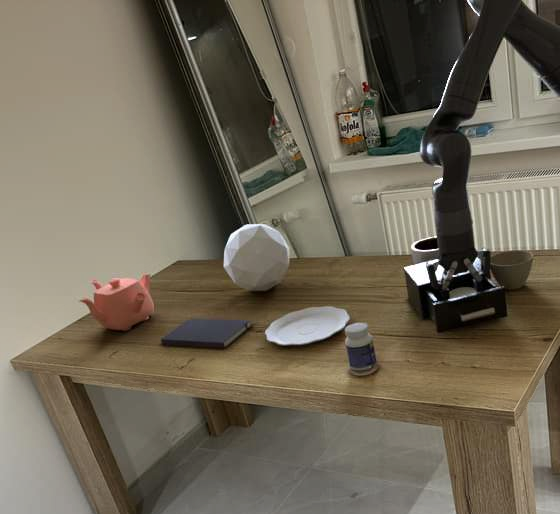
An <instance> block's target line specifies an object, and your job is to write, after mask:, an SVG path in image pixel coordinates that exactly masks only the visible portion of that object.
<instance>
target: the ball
mask: <svg viewBox="0 0 560 514" xmlns="http://www.w3.org/2000/svg"><path fill="white" fill-rule="evenodd" d="M289 267H290V247H289V245H288V244H287V242H286V241H285V239H284V238H283V236H282V234H281V232H280V231H278V230H277V229H275V228H274V227H272V226H269V225H268V224H263V223H262V224H260V223H259V224H257V223H256V224H255V223H253V224H251V223H249V224H247V223H246V224H245V225H243V226H242V227H240V228H239V229H238V228H237V230H235V231H234V232H232V233H231V234H230V236H229V237H228V240H227V243H226V244H225V247H224V253H223V269H224V270H225V271H226V273H227V274H228V276H229V277H230V278H231V280H232V282H233V284H236V285H237V286H238V287H240V288H242V289H244V290H245V291H247V292H267V291H269V290H270V289H272V288H273V287H275V286H276V285H278V284H280V283H282V281H283V280H284V277H285V275H286V273H287V271H288V269H289Z"/></svg>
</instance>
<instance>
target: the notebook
mask: <svg viewBox="0 0 560 514" xmlns="http://www.w3.org/2000/svg"><path fill="white" fill-rule="evenodd" d="M250 322H251V321H250V320H249V319H227V318H223V319H221V318H193V317H191V318H188V319H186V320H185V321H183V322H182V323H180V325H178V326H177V327H176V328H174V329H173V330H171V331H170V332H169V333H167V334H166V335H164V336H163V337H161V338H160V341H161V345H166V346H167V345H168V346H184V347H201V348H202V347H203V348H216V349H218V348H219V349H226V348H227V347H228V346H229V345H230V344H232V343H233V342H234V341H236V340H237V339H238V338H239V337H240V336H241V335H242V334H244V333H245V332H246V331H247V330H248V329H250V328H251V327H252V324H251V323H250Z"/></svg>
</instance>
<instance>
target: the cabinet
mask: <svg viewBox="0 0 560 514" xmlns="http://www.w3.org/2000/svg"><path fill="white" fill-rule="evenodd" d="M437 260H438V259H437ZM434 261H436V260H433V261H429V262H430V263H431V262H434ZM425 264H426V262H425V263H420V264H416V265H409V266H408V265H407V266H405V267H403V272H404V278H405V285H406V291H407V298H408V301H409V302H410V304H411V305H412V307H413V308H414V309H415V311H416V312H417V314H418V315H419V316H420V318H421V319H422V320H423V321H424V320H428V319H431V317H430V316H429V315H428V313H427V312H426V310H425V303H424V296H423V289H422V288H424V287H428V286H431V283H430V280H429V276H428V272H427V269H426V265H425ZM473 266H474V267H475V269H476V270H477V271H478V273H479V272H480V271H481V259H480V258H479V256H477V258H476V260H475V261H474V263H473ZM443 269H444V268H443V267H441V266H440V265H439V266H438V270H437V271H436V272H435V273H436V276H437V280H438V282H440V280H441V277H442V272H443ZM491 274H492V273H490V276H489V277H488V278H490V279H491V280H492V275H491ZM468 276H472V275H471V273H470V272H469V271H468V272H466V273H459V274H458V275H453V277H452V280H456V279H460V278H464V277H468ZM452 280H451V281H452Z"/></svg>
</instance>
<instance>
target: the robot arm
mask: <svg viewBox="0 0 560 514" xmlns="http://www.w3.org/2000/svg"><path fill="white" fill-rule="evenodd" d="M467 2H468V4H469V5H470V7H471V8H472V10H473V11H474V12H475V13H476V14H477V15H478V18H477V21H476V24H475V26H474V28H473V30H472V32H471V34H470V36H469V38H468V40H467V42H466V44H465V46H464V47H463V49H462V51H461V53H460V54H459V56H458V58H457V60H456V61H455V64H454V65H453V68H452V70H451V72H450V75H449V77H448V80H447V83H446V86H445V90H444V92H443V94H442V95H443V96H442V98H441V103H440V105H439V107H438V108H437V110H436V111H435V113H434V115H433V116H432V118H431V120H430V121H429V123H428V125H427V127H426V129H425V131H424V132H423V134H422V137H421V140H420V144H419V155H420V159H421V161H422V162H423V163H424V164H425V165H427V166H429V167H434V168H435V167H436V168H442V177H441V178H439V179H437V180H435V181H434V182H433V183H432V186H431V192H432V201H433V209H434V224H435V226H434V227H435V234H436V235H435V236H436V237H437V242H438V250H439V257H438V260H436V261H434V262H431V263H430V262H426V264H425V265H426V269H427V272H428V276H429V280H430V283H431V286H432V287H433V288H434V289H435V290H438V289H440V290H441V297H442V301H444V300H448V299H450V294H449V289H448V286H449V283H450V281H451V280H452V277H453V275H458V274H459V273H466V272H468V271H469V272H470V273H471V275H472V276H473V277H474V280H473V285H474V289H475V290H476V292H481V291H483V288H482V280H483V279H484V278H485V277H489V276H490V274H491V269H490V260H491V255H492V253H491V251H490V250H489V249H488V248H487V247H482V248H481V249H476V247H475V237H474V227H473V224H474V223H473V217H472V211H471V206H470V201H469V193H468V192H469V191H468V180H469V174H470V167H471V162H472V161H471V160H472V146H471V141H470V140H469V138H468V136H467V135H466V134H465V133H464V132H462V131H460V130H458V128H459V127H460V126H461V125H462V124H464V123H467V122H469V121H472V119H473V118H474V117H475V115H476V112H477V108H478V106H479V104H480V100H481V97H482V94H483V91H484V87H485V84H486V81H487V78H488V76H489V73H490V70H491V68H492V65H493V64H494V60H495V58H496V56H497V53H498V51H499V49H500V46H501V44H502V42H503V40H504V39H505V41H507V42H508V43H509V45H510V46H511V47H512V48H513V49H514V50H515V52H516V53H517V54H518V55H519V56H520V57H521V58H522V59H523V60H524V61H525V63H526V64H527V65H528V66H529V67H530V68H531V69H532V71H533V72H534V73H535V74H536V76H537V77H538V78H539V79H540V81H542V82H543V83H544V85H545V86H546V88H548V89H549V90H550V91H551V92H552V93H553V94H554V95H555V97H556V98H558V100H560V25H558V24H556V23H554V22H552V21H550V20H548V19H546V18H545V17H543V16H540V15H539V14H537V13H536V12H534V11H533V10H532V9H531V8H530V7H529V6H528V5H527V4H526V3H525V2H524V1H523V0H467ZM477 257H478V258H479V259H480V260H481V271H480V272H479V273H478V271H477V270H476V269H475V267H474V266H473V263H474V261H475V260H476V258H477ZM439 265H440V266H441V267H443V268H444V269H443V272H442V277H441V280H440V282H438V280H437V276H436V273H435V272H436V271H437V270H438V266H439Z"/></svg>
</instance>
